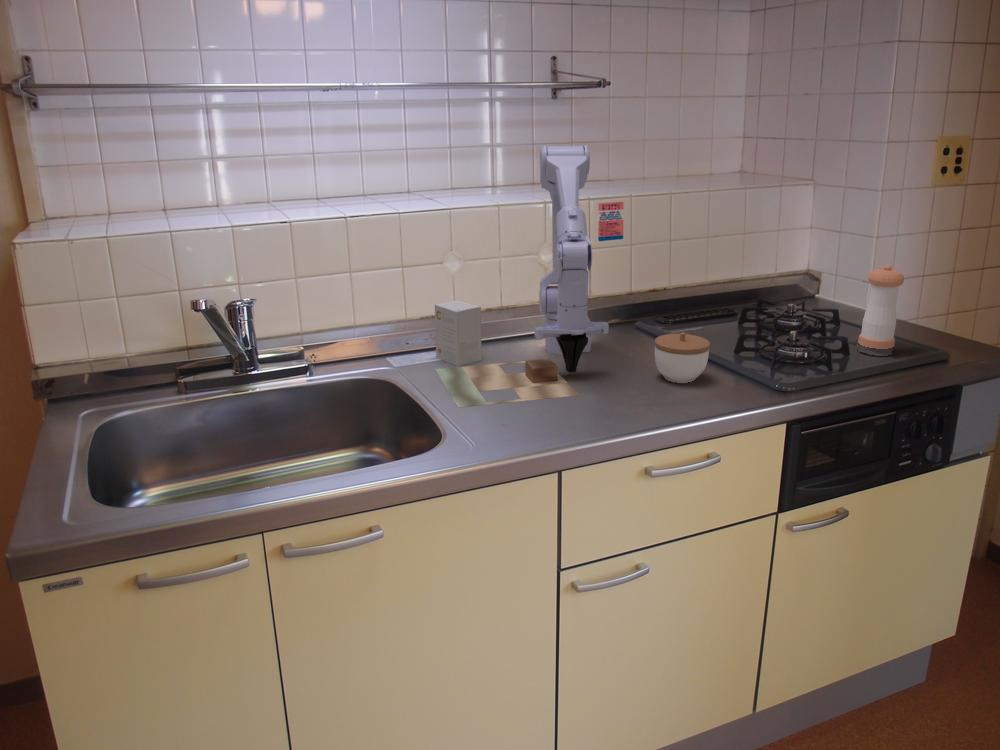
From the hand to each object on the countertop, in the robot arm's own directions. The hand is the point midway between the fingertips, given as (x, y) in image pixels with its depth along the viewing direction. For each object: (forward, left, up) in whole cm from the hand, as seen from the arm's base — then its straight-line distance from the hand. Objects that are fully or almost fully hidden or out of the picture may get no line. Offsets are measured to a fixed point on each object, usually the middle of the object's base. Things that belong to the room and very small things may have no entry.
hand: (570, 370), depth 161 cm
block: (+6, 0, -1) cm, 6 cm away
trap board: (+14, 0, -2) cm, 14 cm away
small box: (+19, -17, -3) cm, 25 cm away
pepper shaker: (-71, -1, -3) cm, 71 cm away
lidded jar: (-22, +3, -3) cm, 22 cm away
